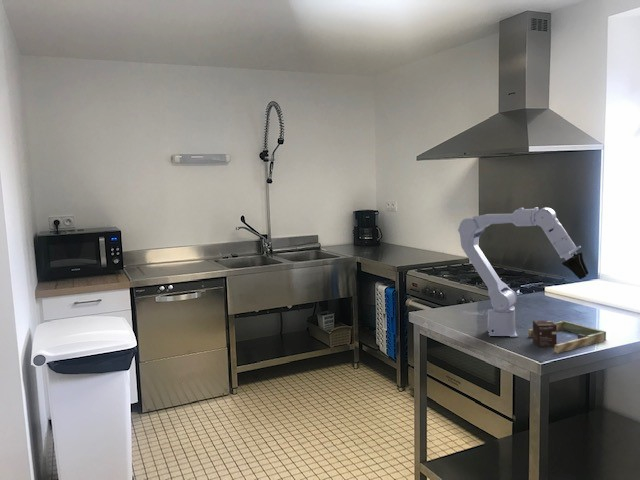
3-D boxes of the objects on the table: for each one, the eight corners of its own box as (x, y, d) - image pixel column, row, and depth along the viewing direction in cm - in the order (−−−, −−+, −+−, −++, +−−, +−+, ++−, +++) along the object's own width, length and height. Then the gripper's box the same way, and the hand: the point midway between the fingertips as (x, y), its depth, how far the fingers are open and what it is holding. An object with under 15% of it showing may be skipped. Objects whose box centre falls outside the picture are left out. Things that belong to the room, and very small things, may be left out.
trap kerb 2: (583, 344, 173) (583, 336, 173) (577, 343, 175) (577, 334, 175) (586, 344, 174) (586, 335, 173) (580, 342, 175) (580, 333, 175)
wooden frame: (557, 353, 166) (557, 344, 166) (515, 339, 182) (515, 331, 181) (605, 340, 176) (606, 331, 176) (562, 328, 191) (562, 320, 191)
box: (537, 347, 173) (537, 325, 172) (532, 341, 179) (532, 320, 178) (557, 347, 172) (557, 325, 172) (551, 341, 178) (551, 320, 177)
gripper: (569, 235, 165) (594, 272, 162) (574, 232, 177) (598, 267, 174) (548, 246, 168) (572, 283, 165) (555, 243, 180) (577, 278, 177)
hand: (584, 276), depth 170 cm, fingers open, 7 cm apart
